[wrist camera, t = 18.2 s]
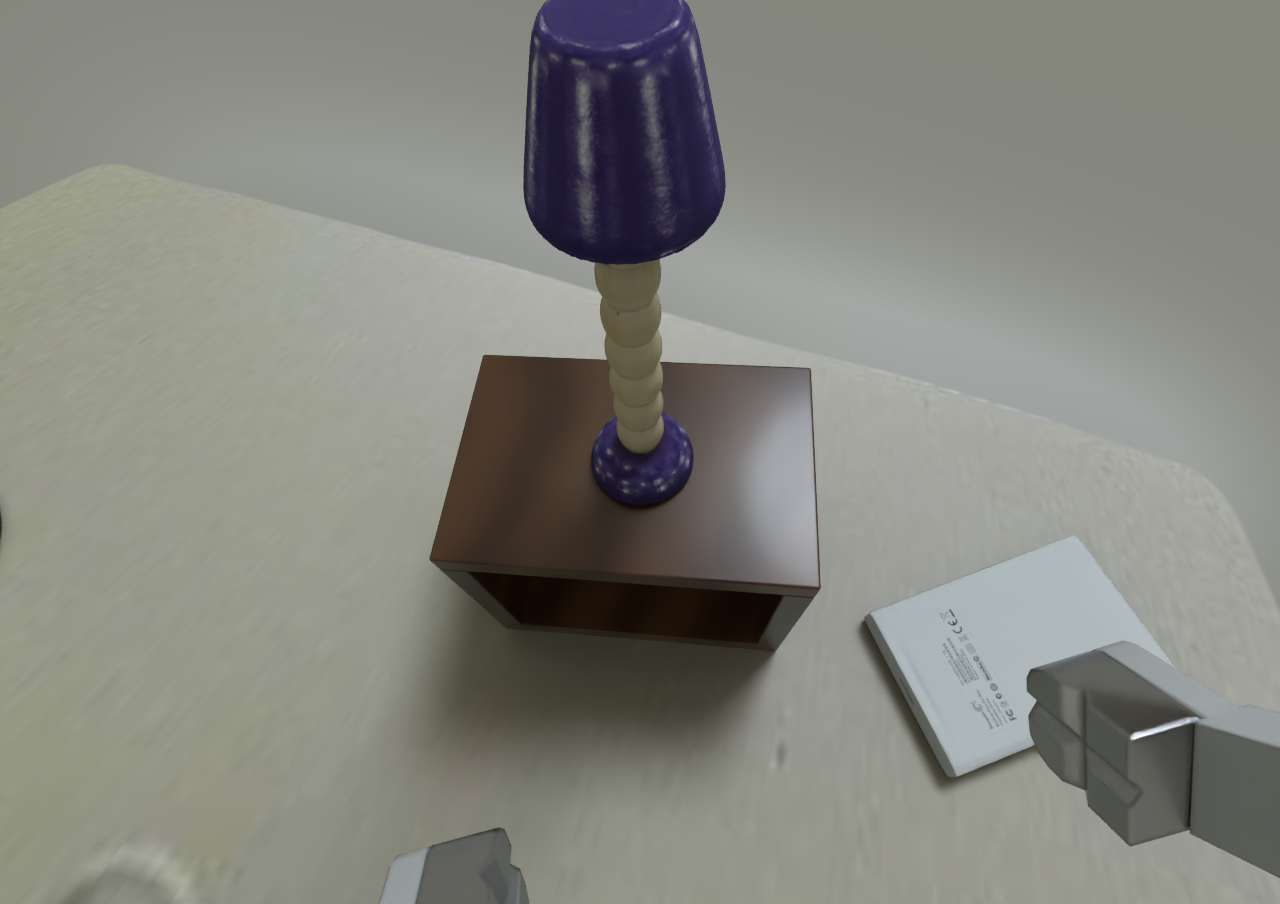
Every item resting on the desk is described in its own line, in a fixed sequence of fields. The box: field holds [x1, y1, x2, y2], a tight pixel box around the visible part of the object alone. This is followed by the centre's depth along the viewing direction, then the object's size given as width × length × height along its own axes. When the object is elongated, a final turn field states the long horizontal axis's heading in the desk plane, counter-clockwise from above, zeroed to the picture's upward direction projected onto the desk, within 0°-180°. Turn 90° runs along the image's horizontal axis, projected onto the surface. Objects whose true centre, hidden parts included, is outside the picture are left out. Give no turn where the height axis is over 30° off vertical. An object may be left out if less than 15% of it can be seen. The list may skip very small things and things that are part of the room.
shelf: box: [430, 355, 821, 651], centre depth 31 cm, size 15×10×12 cm, turn 84°
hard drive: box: [864, 536, 1174, 777], centre depth 32 cm, size 2×8×12 cm
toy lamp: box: [523, 0, 726, 505], centre depth 18 cm, size 5×5×17 cm
